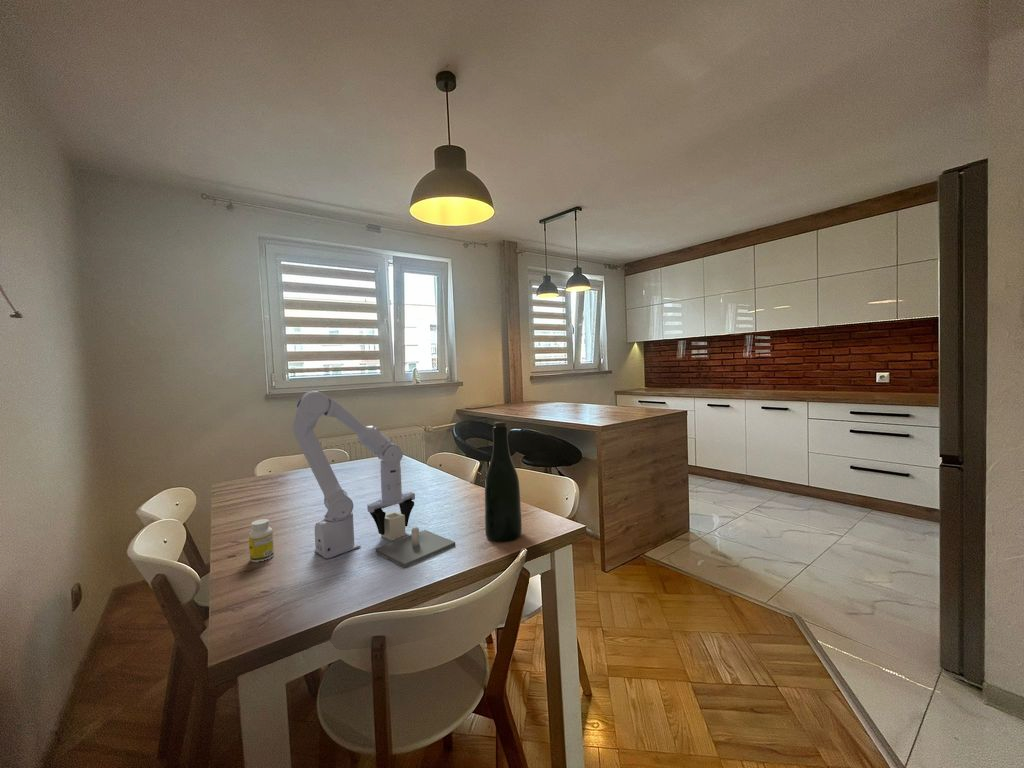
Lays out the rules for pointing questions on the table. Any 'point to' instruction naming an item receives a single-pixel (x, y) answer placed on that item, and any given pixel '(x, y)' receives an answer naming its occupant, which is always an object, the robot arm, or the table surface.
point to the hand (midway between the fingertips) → (393, 529)
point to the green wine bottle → (502, 491)
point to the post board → (414, 547)
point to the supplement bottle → (261, 541)
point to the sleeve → (394, 525)
